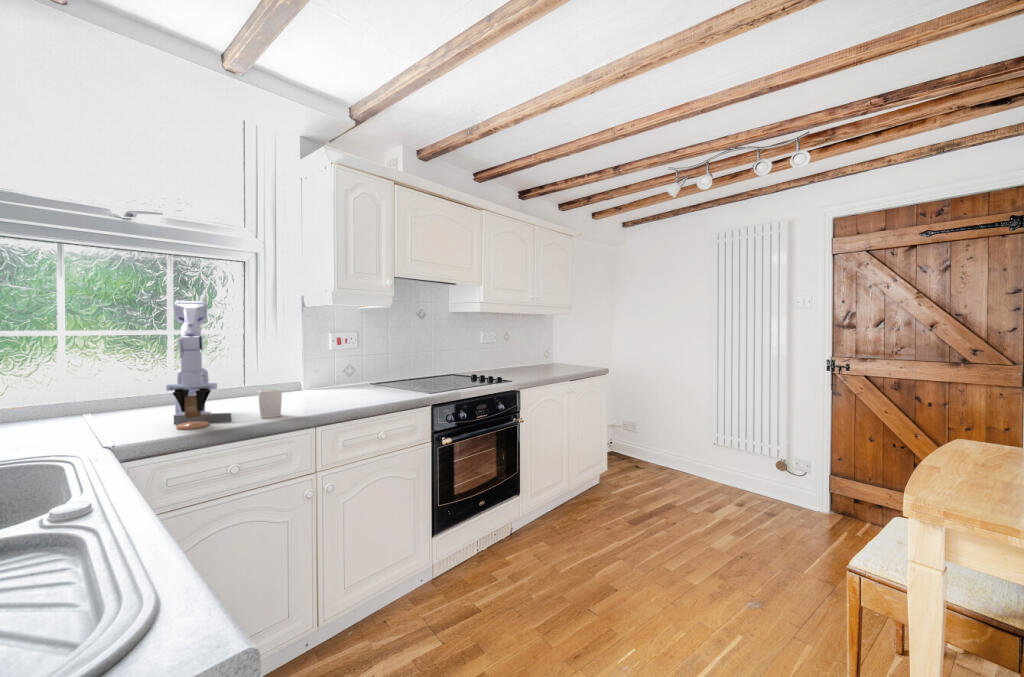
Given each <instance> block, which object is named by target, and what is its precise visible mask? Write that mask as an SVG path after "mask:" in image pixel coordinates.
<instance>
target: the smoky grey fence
mask: <svg viewBox="0 0 1024 677" xmlns="http://www.w3.org/2000/svg"><path fill="white" fill-rule="evenodd" d="M173 415H174V416H173V425H178V424H181V423H186V422H193V421H208V422H209V424H211V423H212V424H213V423H231V422H232V412H227V413H226V412H224V413H223V412H220V413H208V414H201V416H199V417H191V418H185V415H175V414H173Z"/></svg>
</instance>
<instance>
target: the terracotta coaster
mask: <svg viewBox="0 0 1024 677" xmlns="http://www.w3.org/2000/svg"><path fill="white" fill-rule="evenodd" d="M175 425H176V430H180V431H181V430H182V431H187V430H188V431H189V430H196V429H203V428H206V427H208V426H210V423H209V422H208V421H193V422H186V423H181V424H175Z"/></svg>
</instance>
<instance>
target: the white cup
mask: <svg viewBox="0 0 1024 677" xmlns="http://www.w3.org/2000/svg"><path fill="white" fill-rule="evenodd" d="M257 395H258V406H259V407H258V408H259V415H260V416H259V417H260V418H261V419H269V418H270V419H272V418H278V417H281V415H282V400H283V398H282V397H283V389H282V388H264V389H260V390H258V391H257Z"/></svg>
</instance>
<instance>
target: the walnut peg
mask: <svg viewBox="0 0 1024 677" xmlns="http://www.w3.org/2000/svg"><path fill="white" fill-rule="evenodd" d="M184 400H185V418H191V417H199V416H201V411H198V400H197V395H189V396H184Z"/></svg>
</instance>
